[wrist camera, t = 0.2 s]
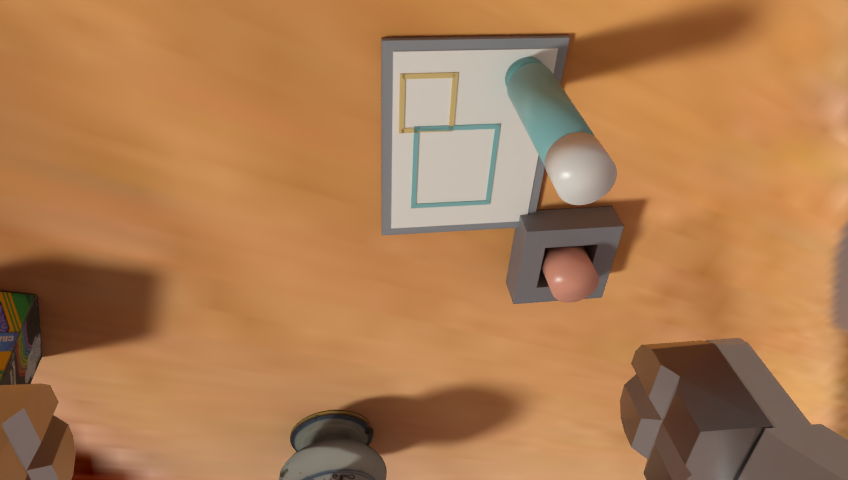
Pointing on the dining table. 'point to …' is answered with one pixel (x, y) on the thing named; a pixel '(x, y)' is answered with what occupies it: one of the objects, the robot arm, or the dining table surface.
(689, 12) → the dining table surface
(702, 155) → the dining table surface
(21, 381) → the chalk box
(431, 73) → the picture board
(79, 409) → the dining table surface
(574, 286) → the button
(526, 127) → the marker
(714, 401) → the robot arm
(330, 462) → the apothecary jar
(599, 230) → the button housing
